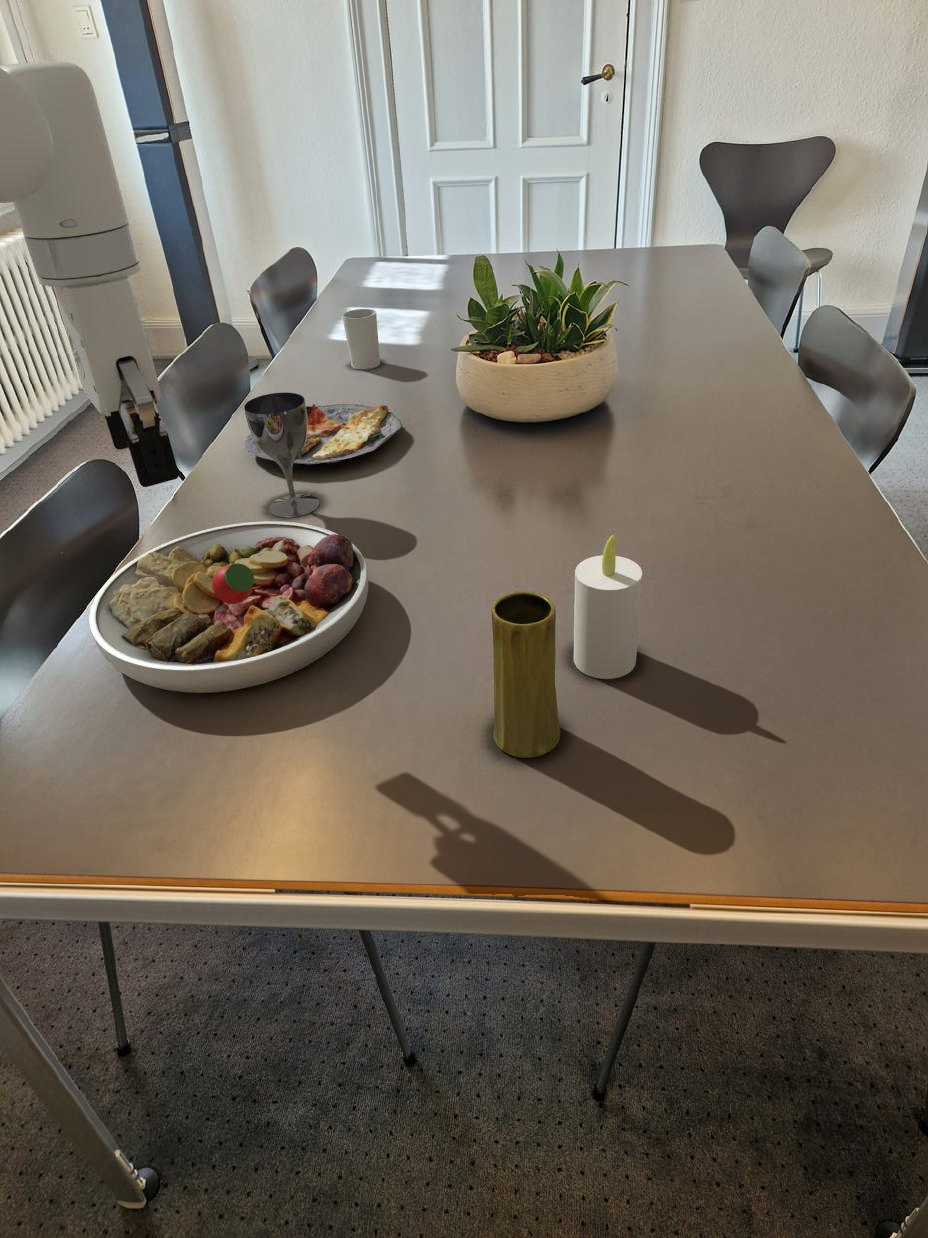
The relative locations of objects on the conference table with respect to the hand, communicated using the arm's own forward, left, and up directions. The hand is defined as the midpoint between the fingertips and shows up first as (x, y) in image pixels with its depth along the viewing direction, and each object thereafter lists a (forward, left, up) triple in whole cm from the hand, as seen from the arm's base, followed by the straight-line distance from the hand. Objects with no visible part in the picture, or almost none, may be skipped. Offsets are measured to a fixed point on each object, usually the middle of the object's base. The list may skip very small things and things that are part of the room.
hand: (146, 462), depth 75 cm
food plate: (+35, +50, -24) cm, 65 cm away
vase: (+22, -26, -24) cm, 42 cm away
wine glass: (+22, +32, -24) cm, 46 cm away
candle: (+35, -21, -24) cm, 48 cm away
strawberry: (+4, +4, -17) cm, 18 cm away
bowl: (+6, +8, -24) cm, 26 cm away
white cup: (+57, +82, -24) cm, 103 cm away
